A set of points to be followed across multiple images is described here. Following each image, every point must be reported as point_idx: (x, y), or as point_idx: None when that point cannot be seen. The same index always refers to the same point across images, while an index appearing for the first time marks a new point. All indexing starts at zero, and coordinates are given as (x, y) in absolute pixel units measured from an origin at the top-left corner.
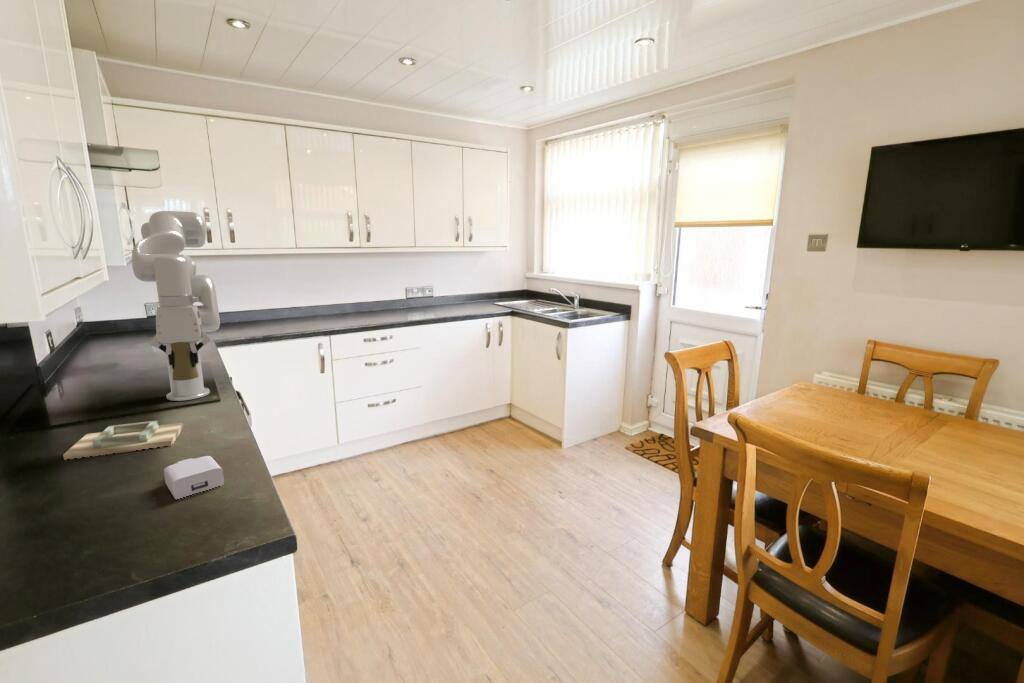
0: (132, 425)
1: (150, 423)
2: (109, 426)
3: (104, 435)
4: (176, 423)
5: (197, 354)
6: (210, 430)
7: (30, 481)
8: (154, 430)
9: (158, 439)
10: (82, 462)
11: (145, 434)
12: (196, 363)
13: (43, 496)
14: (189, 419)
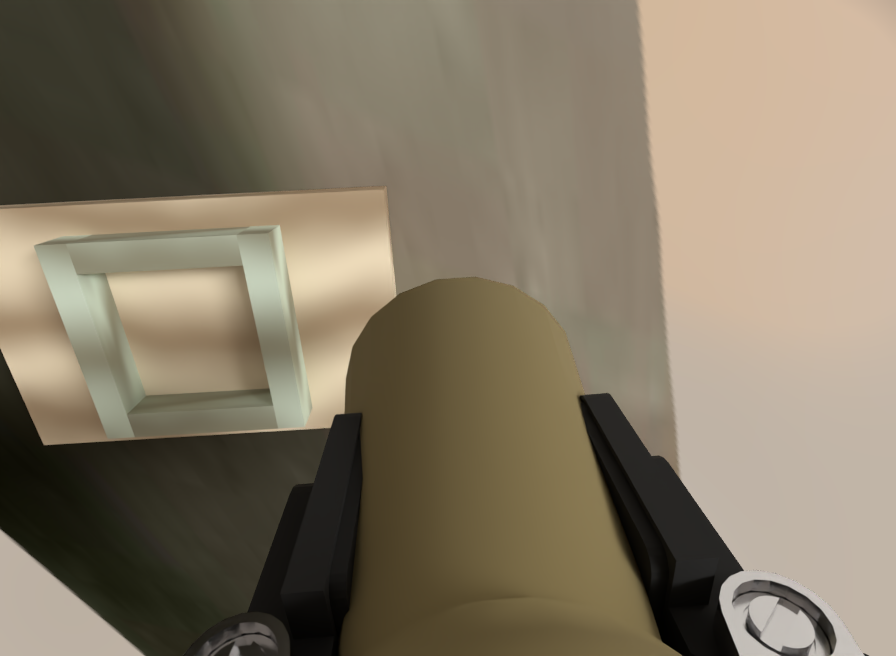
0: (163, 269)
1: (251, 275)
2: (44, 257)
3: (113, 384)
4: (352, 193)
5: (723, 565)
6: (524, 276)
7: (83, 553)
8: (290, 301)
9: None
10: (147, 465)
11: (301, 425)
12: (610, 395)
13: (196, 635)
14: (375, 34)
